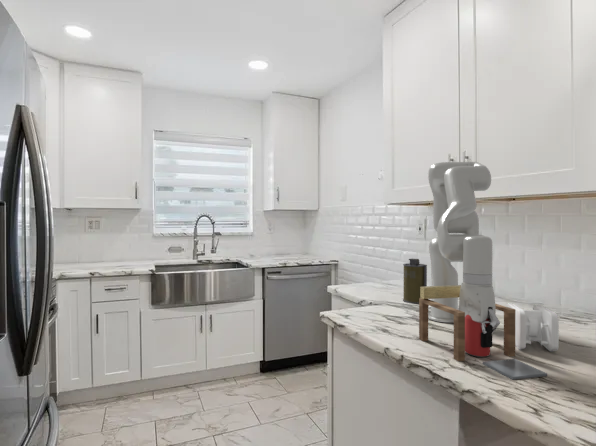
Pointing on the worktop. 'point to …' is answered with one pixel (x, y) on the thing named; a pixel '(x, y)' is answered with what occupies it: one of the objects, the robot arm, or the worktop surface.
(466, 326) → the beer can
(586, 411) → the worktop surface
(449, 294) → the bar
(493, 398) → the worktop surface
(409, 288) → the canister
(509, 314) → the frame
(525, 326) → the cable organizer
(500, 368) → the coaster
